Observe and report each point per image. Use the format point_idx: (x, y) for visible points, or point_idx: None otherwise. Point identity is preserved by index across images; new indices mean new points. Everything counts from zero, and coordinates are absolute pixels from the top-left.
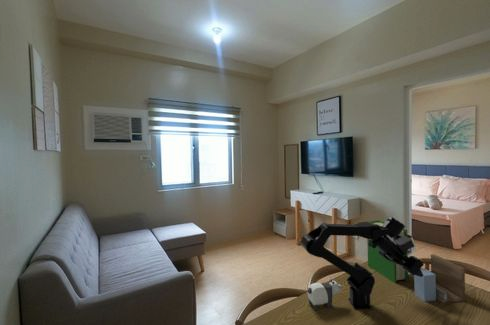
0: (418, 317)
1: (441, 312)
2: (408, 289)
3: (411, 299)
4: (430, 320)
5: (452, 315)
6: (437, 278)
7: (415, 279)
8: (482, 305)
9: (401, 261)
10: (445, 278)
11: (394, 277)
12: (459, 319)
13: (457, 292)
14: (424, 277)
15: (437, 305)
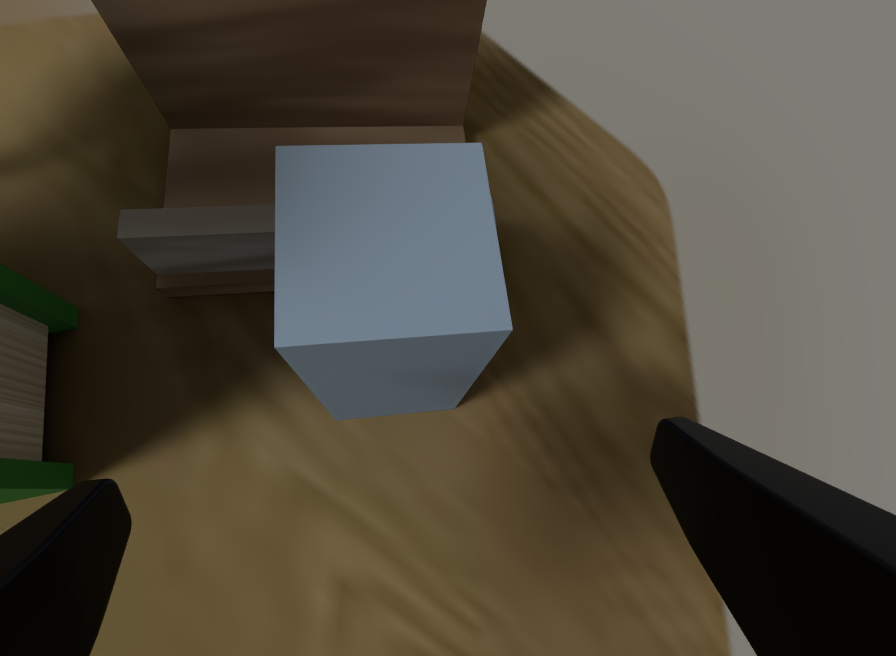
0: (690, 639)
1: (603, 382)
2: (238, 420)
3: (414, 511)
4: None
5: (634, 330)
6: (224, 82)
7: (328, 383)
8: (514, 71)
9: (2, 641)
10: (309, 42)
11: (19, 488)
12: (675, 319)
13: (433, 102)
14: (506, 333)
15: (512, 343)
